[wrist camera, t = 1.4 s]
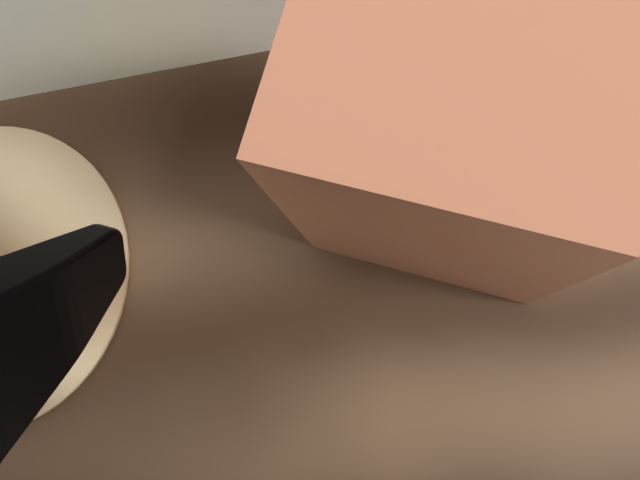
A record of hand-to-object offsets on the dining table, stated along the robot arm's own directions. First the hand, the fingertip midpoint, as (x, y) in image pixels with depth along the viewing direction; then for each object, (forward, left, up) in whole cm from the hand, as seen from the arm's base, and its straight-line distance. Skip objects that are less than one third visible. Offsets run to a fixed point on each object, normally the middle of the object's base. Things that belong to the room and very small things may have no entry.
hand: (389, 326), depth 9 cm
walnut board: (+1, +6, -12) cm, 13 cm away
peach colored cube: (+5, -2, -9) cm, 10 cm away
